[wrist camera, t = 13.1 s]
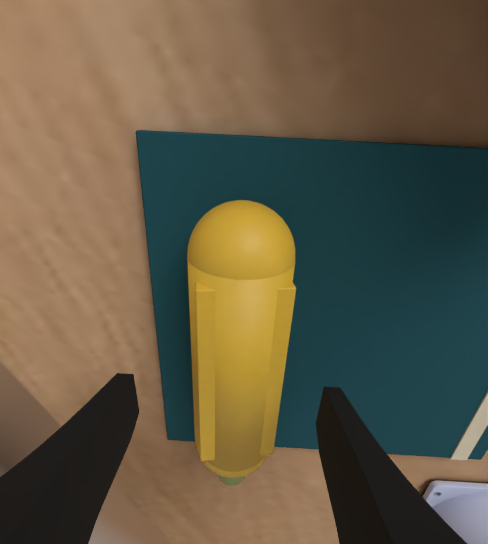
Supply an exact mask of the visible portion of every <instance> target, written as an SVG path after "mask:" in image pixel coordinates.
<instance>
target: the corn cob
mask: <svg viewBox="0 0 488 544" xmlns="http://www.w3.org/2000/svg"><path fill="white" fill-rule="evenodd" d="M295 251H296V249H295V243H294V239H293V236H292V234H291V232H290V229H289V227H288V226H287V224H286V223H285V221H284V220H283V219H282V218H281V217H280V216H279V215H278V214H277V213H276V212H275V211H274V210H272V209H270V208H269V207H267V206H265V205H263V204H261V203H257V202H253V201H249V200H236V201H229V202H225V203H223V204H221V205H218V206H216V207H214V208H213V209H211V210H210V211H209V212H207V213H206V214H205V215H204V216H203V217H202V218H201V219H200V220H199V221H198V223H197V224H196V226H195V228H194V230H193V231H192V234H191V237H190V240H189V243H188V252H187V262H188V285H189V309H190V333H191V357H192V381H193V405H194V429H195V443H196V448H197V451H198V454H199V456H200V460H201V461H203V462H204V464H205V465H206V466H207V467H208V468H209V469H210V470H211V471H213V472H214V473H216V474H218V475H219V478H220V479H221V481H222V482H223V483H225V484H227V485H237V484H239V483H240V482H241V481H242V480H243V479H244V477H245V476H246V475H248V474H250V473H252V472H253V471H255V470H256V469H257V468H258V467H259V466H260V465H261V464H262V463H263V461H264V460H265V458H266V456H267V455H269V454H273V451H274V444H275V436H276V429H277V422H278V415H279V408H280V401H281V394H282V386H283V379H284V372H285V365H286V358H287V351H288V343H289V336H290V329H291V322H292V315H293V308H294V301H295V293H296V287H295V285H294V283H293V276H294V268H295Z"/></svg>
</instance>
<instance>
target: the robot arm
mask: <svg viewBox="0 0 488 544" xmlns="http://www.w3.org/2000/svg"><path fill="white" fill-rule="evenodd" d="M138 414H139V407H138V401H137V394H136V388H135V382H134V375H133V374H120V373H117V374H116V375H115V376H114V377H113V378H112V379H111V380H110V381H109V382H108V383H107V384H106V385H105V386H104V387H103V388H102V389H101V390H100V391H99V392H98V393H97V394H96V395H95V396H94V397H93V398H92V399H91V400H90V401H89V402H88V403H87V404H86V405H84V406H83V407H82V408H81V409H80V410H79V411H78V412H77V413H76V414H75V415H74V416H73V417H72V418H71V419H70V420H69V421H68V422H66V423H65V424H64V425H63V426H62V427H61V428H60V429H59V430H58V431H56V432H55V433H54V434H53V435H52V436H51V437H49V439H47V440H46V441H45V442H44V443H43V444H42V445H40V446H39V447H38V448H37V449H36V450H34V451H33V452H32V453H31V454H29V455H28V456H27V457H26V458H24V459H23V460H22V461H21V462H19V463H18V464H17V465H16V466H14V467H13V468H12V469H11V470H9V471H8V472H7V473H5V474H4V475H2V476H1V477H0V544H88V542H89V540H90V537H91V534H92V531H93V528H94V525H95V522H96V520H97V517H98V515H99V512H100V510H101V507H102V505H103V502H104V500H105V498H106V496H107V493H108V491H109V488H110V486H111V484H112V482H113V480H114V477H115V475H116V473H117V470H118V468H119V466H120V464H121V461H122V459H123V457H124V454H125V452H126V450H127V447H128V445H129V443H130V440H131V437H132V434H133V431H134V428H135V424H136V421H137V418H138ZM316 431H317V439H318V447H319V454H320V458H321V463H322V467H323V471H324V476H325V480H326V484H327V488H328V493H329V497H330V501H331V505H332V510H333V514H334V518H335V522H336V527H337V532H338V537H339V543H340V544H488V484H487V483H472V482H456V481H441V480H436V481H432V482H431V483H430V484H429V486H428V488H427V490H426V491H425V493H424V495H423V497H422V496H421V495H420V494H419V492H418V491H417V490H416V489H415V488H414V487H413V486H412V484H411V483H410V482H409V481H408V480H407V479H406V477H405V476H404V475H403V474H402V472H401V471H400V470H399V469H398V467H397V466H396V465H395V464H394V462H393V461H392V460H391V459H390V457H389V456H388V455H387V454H386V452H385V451H384V450H383V448H382V447H381V446H380V444H379V443H378V442H377V440H376V439H375V437H374V436H373V435H372V433H371V432H370V431H369V429H368V428H367V426H366V425H365V423H364V422H363V421H362V419H361V418H360V416H359V415H358V413H357V412H356V410H355V409H354V407H353V406H352V404H351V403H350V401H349V399H348V398H347V396H346V395H345V393H344V392H343V390H342V389H341V388H340V387H325V386H324V388H323V392H322V397H321V401H320V406H319V410H318V415H317V420H316Z"/></svg>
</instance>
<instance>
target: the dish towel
mask: <svg viewBox="0 0 488 544" xmlns="http://www.w3.org/2000/svg"><path fill="white" fill-rule="evenodd" d="M136 139H137V148H138V158H139V168H140V177H141V187H142V197H143V206H144V216H145V226H146V235H147V245H148V254H149V264H150V274H151V283H152V293H153V303H154V312H155V322H156V332H157V341H158V351H159V361H160V370H161V380H162V390H163V399H164V409H165V418H166V428H167V438H168V440H180V441H195V429H194V405H193V381H192V357H191V333H190V309H189V285H188V262H187V252H188V243H189V240H190V237H191V234H192V231H193V230H194V228H195V226H196V224H197V223H198V221H199V220H200V219H201V218H202V217H203V216H204V215H205V214H206V213H207V212H209V211H210V210H211V209H213V208H214V207H216V206H218V205H221V204H223V203H225V202H229V201H236V200H249V201H253V202H257V203H261V204H263V205H265V206H267V207H269V208H270V209H272V210H274V211H275V212H276V213H277V214H278V215H279V216H280V217H281V218H282V219H283V220H284V221H285V223H286V224H287V226H288V227H289V229H290V232H291V234H292V236H293V239H294V243H295V249H296V251H295V268H294V276H293V283H294V285H295V287H296V293H295V301H294V308H293V315H292V322H291V329H290V336H289V343H288V351H287V358H286V365H285V372H284V379H283V386H282V394H281V401H280V408H279V415H278V422H277V429H276V436H275V444H274V447H290V448H306V449H319V447H318V439H317V431H316V420H317V415H318V410H319V406H320V401H321V397H322V392H323V388H324V386H325V387H340V388H341V389H342V390H343V392H344V393H345V395H346V396H347V398H348V399H349V401H350V403H351V404H352V406H353V407H354V409H355V410H356V412H357V413H358V415H359V416H360V418H361V419H362V421H363V422H364V423H365V425H366V426H367V428H368V429H369V431H370V432H371V433H372V435H373V436H374V437H375V439H376V440H377V442H378V443H379V444H380V446H381V447H382V448H383V450H384V451H385V452H386V454H400V455H416V456H432V457H448V458H450V459H453V460H467V459H479V460H481V459H482V457H483V456H484V454H485V453H486V451H487V450H488V148H481V147H461V146H441V145H421V144H402V143H382V142H362V141H343V140H323V139H303V138H284V137H264V136H244V135H224V134H205V133H185V132H165V131H146V130H138V131H136Z"/></svg>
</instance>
